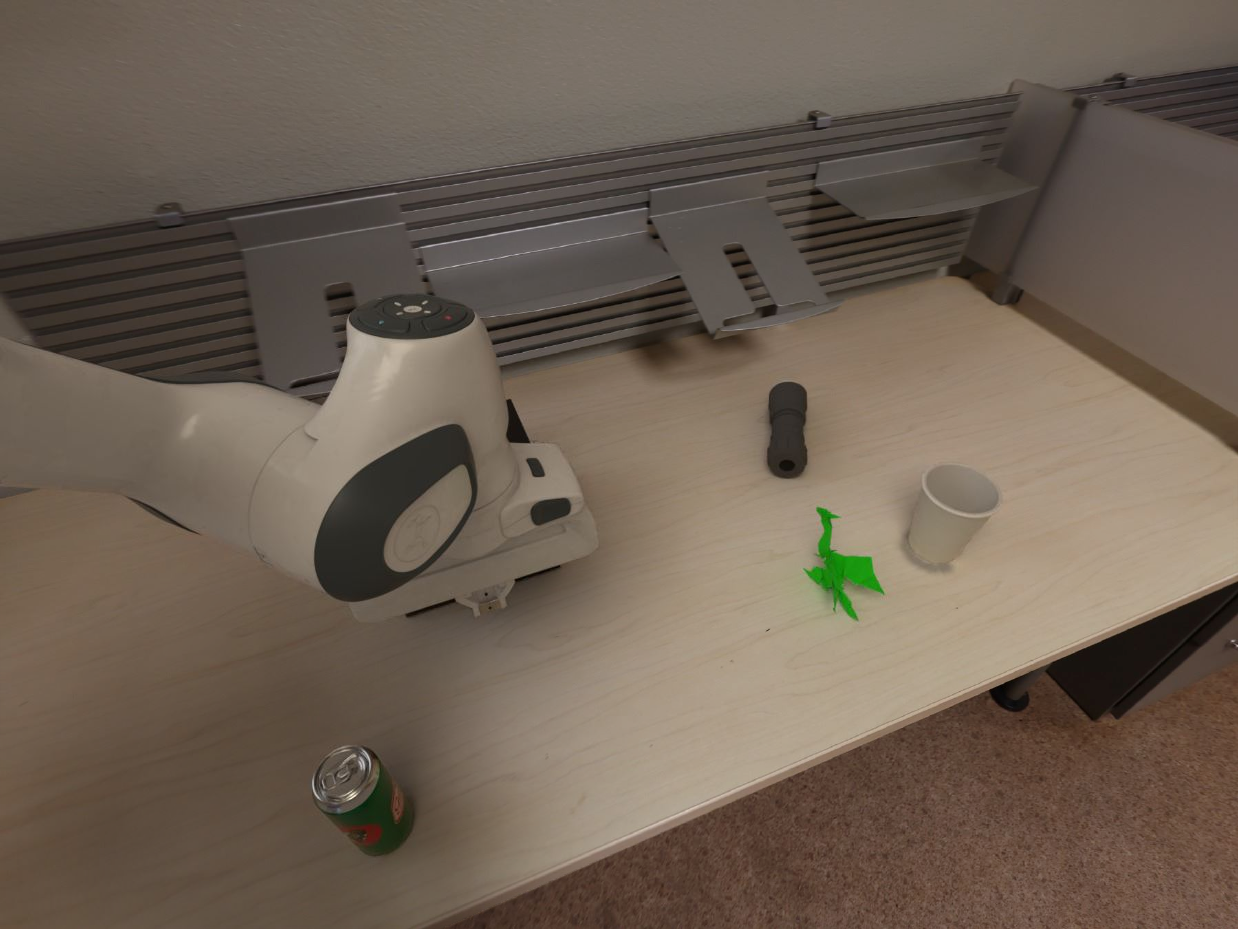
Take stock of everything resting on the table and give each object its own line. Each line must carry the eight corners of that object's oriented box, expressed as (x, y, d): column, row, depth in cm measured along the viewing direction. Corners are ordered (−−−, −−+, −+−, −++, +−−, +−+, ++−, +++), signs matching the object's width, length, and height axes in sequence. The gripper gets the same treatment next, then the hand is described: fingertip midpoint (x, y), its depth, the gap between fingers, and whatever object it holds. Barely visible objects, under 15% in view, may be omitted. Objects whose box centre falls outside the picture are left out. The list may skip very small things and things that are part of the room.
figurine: (820, 531, 79) (845, 490, 71) (876, 620, 72) (909, 584, 65) (776, 546, 77) (796, 505, 70) (828, 637, 71) (857, 603, 63)
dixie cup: (919, 578, 74) (949, 521, 67) (883, 524, 80) (907, 467, 73) (985, 565, 76) (1020, 508, 69) (944, 513, 81) (974, 456, 74)
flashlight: (804, 483, 86) (812, 454, 82) (763, 478, 86) (769, 449, 83) (803, 410, 96) (810, 381, 93) (766, 406, 97) (771, 377, 93)
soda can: (423, 834, 56) (386, 782, 48) (366, 872, 54) (317, 825, 46) (402, 783, 59) (364, 727, 51) (347, 818, 57) (298, 764, 49)
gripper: (316, 574, 43) (372, 677, 52) (603, 490, 48) (607, 597, 58) (311, 509, 47) (364, 615, 57) (576, 438, 53) (584, 546, 62)
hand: (489, 606), depth 57 cm, fingers closed
